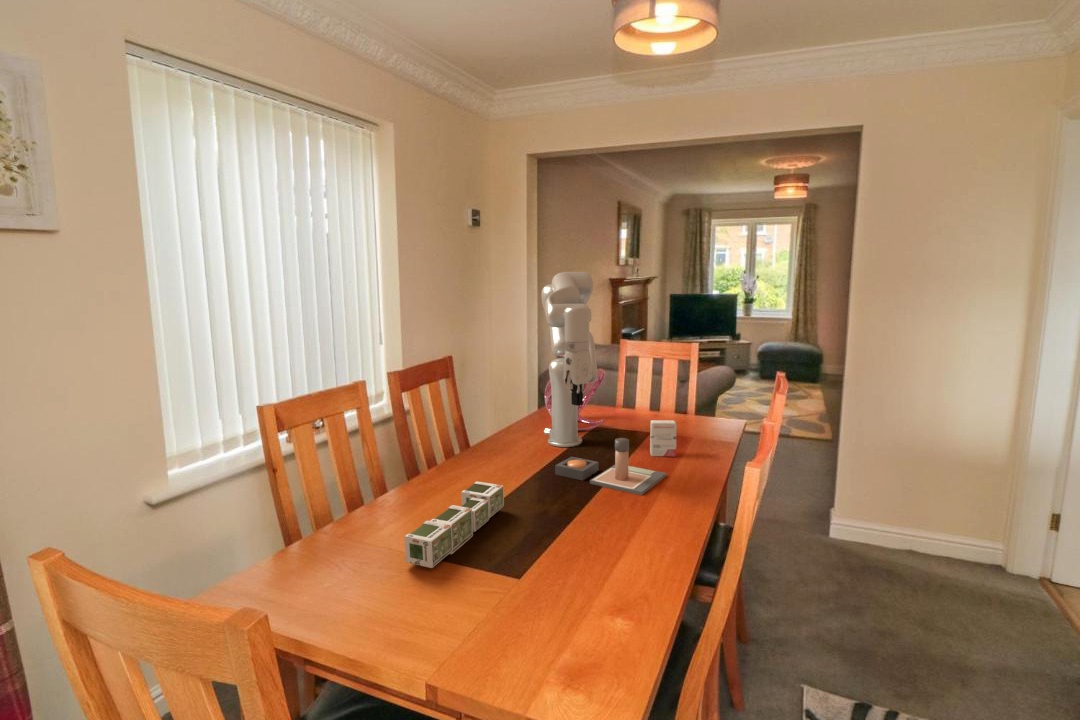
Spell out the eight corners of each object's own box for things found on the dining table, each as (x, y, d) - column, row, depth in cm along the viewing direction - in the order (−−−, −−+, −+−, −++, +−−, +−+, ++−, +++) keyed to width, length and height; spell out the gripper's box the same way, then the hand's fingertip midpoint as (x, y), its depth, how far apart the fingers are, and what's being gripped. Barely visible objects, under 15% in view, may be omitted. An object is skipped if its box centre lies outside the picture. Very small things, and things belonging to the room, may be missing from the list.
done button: (563, 471, 187) (563, 463, 187) (573, 465, 192) (573, 458, 192) (580, 474, 184) (580, 467, 184) (589, 469, 189) (589, 461, 188)
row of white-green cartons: (477, 506, 164) (476, 480, 162) (504, 511, 160) (504, 484, 159) (400, 566, 132) (398, 534, 131) (432, 573, 129) (430, 541, 127)
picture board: (589, 483, 179) (589, 479, 179) (616, 466, 194) (616, 462, 193) (641, 495, 169) (641, 491, 169) (666, 476, 184) (666, 472, 184)
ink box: (674, 452, 207) (675, 419, 205) (676, 457, 202) (677, 423, 200) (649, 452, 207) (650, 419, 205) (650, 456, 203) (651, 423, 201)
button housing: (555, 474, 187) (555, 465, 186) (571, 465, 195) (571, 456, 195) (582, 480, 181) (582, 471, 181) (598, 470, 190) (598, 461, 189)
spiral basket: (637, 378, 237) (583, 338, 244) (607, 409, 216) (549, 364, 222) (606, 423, 254) (556, 385, 260) (575, 456, 233) (522, 413, 239)
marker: (612, 479, 179) (612, 440, 177) (618, 474, 183) (618, 437, 181) (625, 481, 177) (625, 442, 175) (631, 477, 180) (631, 439, 179)
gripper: (574, 350, 174) (575, 411, 177) (599, 344, 186) (599, 401, 189) (553, 348, 178) (554, 408, 181) (578, 342, 190) (579, 398, 193)
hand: (577, 404), depth 185 cm, fingers closed
